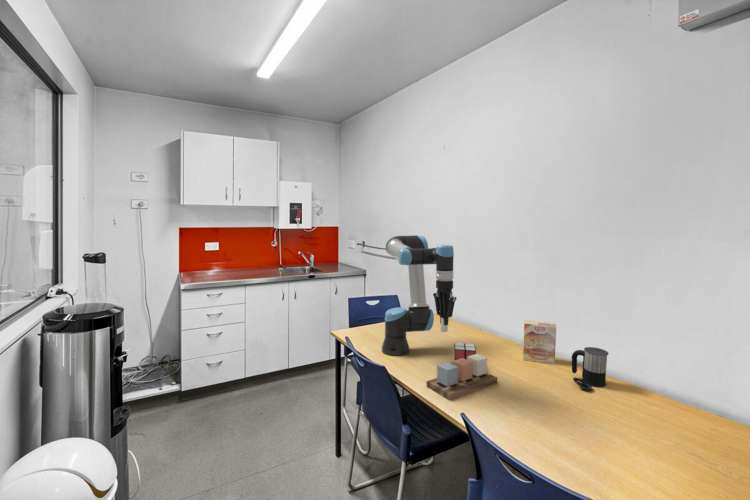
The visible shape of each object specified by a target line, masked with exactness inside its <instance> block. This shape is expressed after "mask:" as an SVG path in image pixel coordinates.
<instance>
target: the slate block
mask: <svg viewBox="0 0 750 500" xmlns="http://www.w3.org/2000/svg"><path fill="white" fill-rule="evenodd" d="M436 372H437V373H436V374H437V376H436V378H437V381H438V382H440V383H442V384H443V385H445V386H444V387H451V386H450V385H453V384H456V383H458V382H459V381H458V367H457V366H455V365H453V363H450V362H448V361H447V362H443V363H441V364H437V369H436Z"/></svg>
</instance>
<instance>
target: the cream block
mask: <svg viewBox="0 0 750 500" xmlns="http://www.w3.org/2000/svg"><path fill="white" fill-rule="evenodd" d="M467 360H468V361H471V362H473V375H475V376H476V377H479V376H480V375H483V374H486V372H487V367H488V365H487V363H488V361H487V360H488V358H487V357H486V356H483V355H481V354H478V353H476V354H475V355H471V356H468V357H467ZM487 373H488V372H487Z"/></svg>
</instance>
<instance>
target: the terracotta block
mask: <svg viewBox="0 0 750 500" xmlns="http://www.w3.org/2000/svg"><path fill="white" fill-rule="evenodd" d="M452 364H453V365H455V366H457V367H458V379H459V380H460V381H461V382H465V380H468V379H471V378H472V377H474V376H473V362H471V361H468V360H466V359H464V358H461V359H457V360H454V359H453V360H452Z"/></svg>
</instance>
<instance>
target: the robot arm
mask: <svg viewBox="0 0 750 500" xmlns="http://www.w3.org/2000/svg"><path fill="white" fill-rule="evenodd" d="M428 245H429V244H428V240H427V239H426V237H425V236H423V235H417V234H416V235H395V236H392V237H391V238H389V239H388V240H387V242H386V244H385V250H386V251H385V252H386V253H387V254H388V255H390V256H392V257H396V258H397V261H398V264H399V265H401V266H407V268H408V281H409V295H410V297H409V298H410V305H409V306H408V309H407V308H405V307H398V306H397V307H392V308H389V309H387V310H386V312H385V313H384V315H385V316H384V340H383V342H382V344H381V345H382V346H381V352H382V353H383V354H385V355H386V356H387V355H388V356H400V357H401V356H404V355H407V354H409V352H410V346H409V342H408V340H407V333H415V332H427V331H430V330H432V329H433V326H434V321H435V320H434V319H435V317H434V316H435V315H434V310H432V309H430V305H428V304H427V296H426V283H425V273H424V269H425V268H424V265H435V270H436V271H435V272H436V273H435V277H436V281H435V288H436V292H434V293H432V296H433V298H434V305H435V310H436V315H438V316H439V318H440V319H439V323H440V332H441V333H447V332H448V329H449V328H448V325H449V319H450V318H452V317H453V312H454V309H455V308H454V307H455V302H456V301H457V296H454V295H453V289H454V281H453V280H454V255H455V252H454V246H453V245H451V244H450V245H449V244H438V245H437V246H436V247H431V248H429V246H428Z"/></svg>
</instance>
